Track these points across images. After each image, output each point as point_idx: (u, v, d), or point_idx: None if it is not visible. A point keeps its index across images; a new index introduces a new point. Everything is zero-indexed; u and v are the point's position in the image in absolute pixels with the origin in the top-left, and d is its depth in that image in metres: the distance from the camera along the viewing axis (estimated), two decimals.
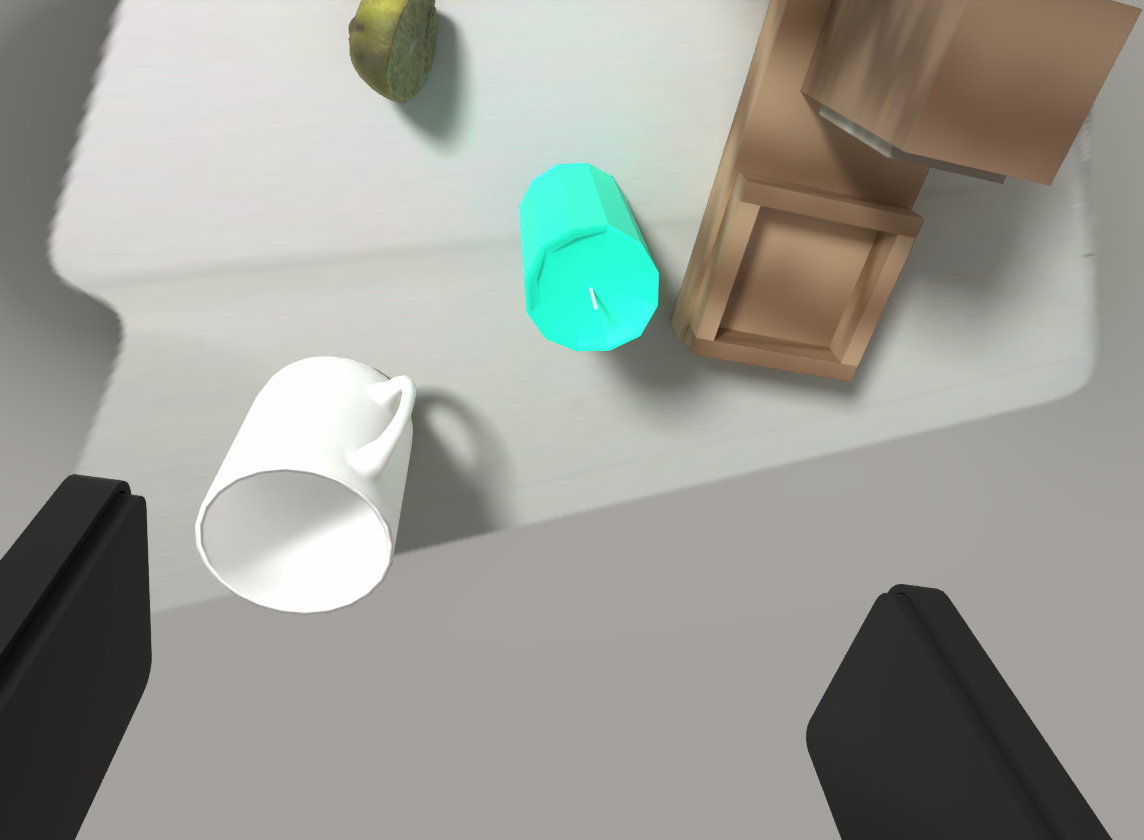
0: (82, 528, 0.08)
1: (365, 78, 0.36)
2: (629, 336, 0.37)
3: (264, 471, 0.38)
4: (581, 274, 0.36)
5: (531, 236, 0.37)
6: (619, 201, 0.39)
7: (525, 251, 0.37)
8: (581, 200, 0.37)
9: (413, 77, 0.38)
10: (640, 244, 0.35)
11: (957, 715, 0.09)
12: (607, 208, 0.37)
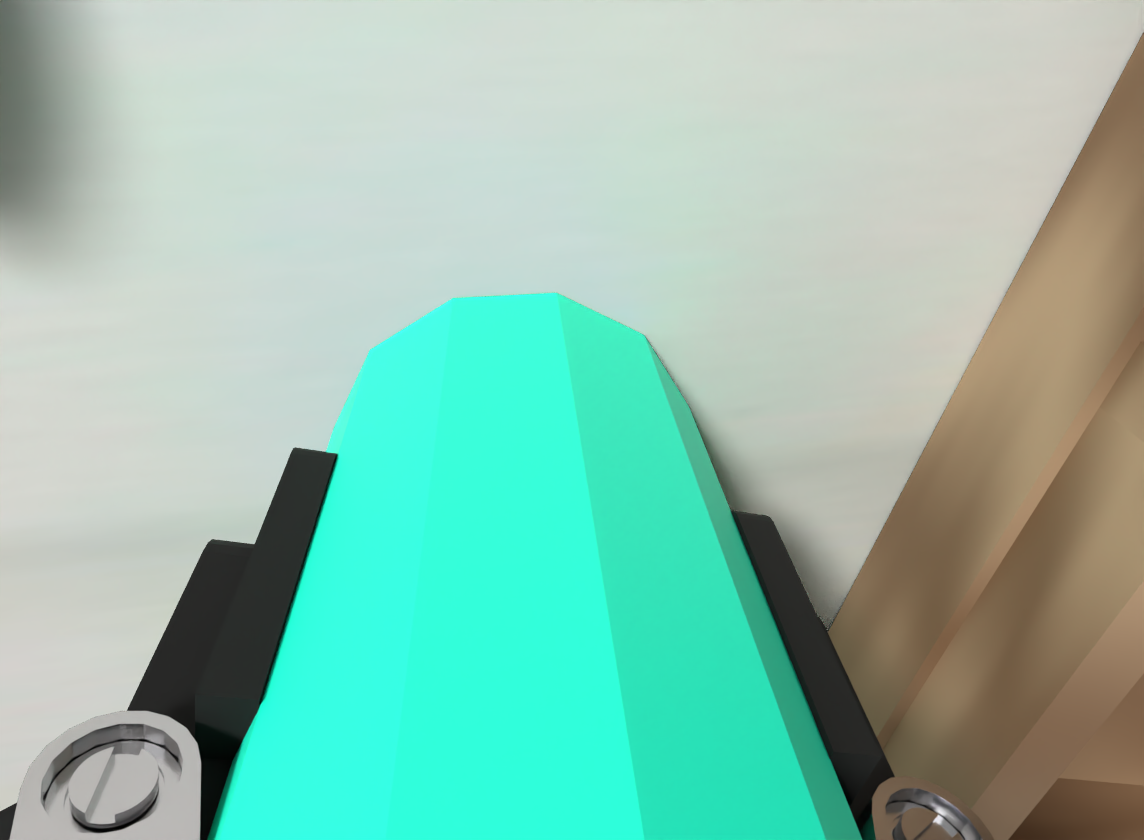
0: (318, 492, 0.09)
1: None
2: None
3: None
4: None
5: (222, 798, 0.07)
6: (693, 521, 0.09)
7: None
8: (503, 595, 0.07)
9: None
10: None
11: None
12: (652, 692, 0.06)
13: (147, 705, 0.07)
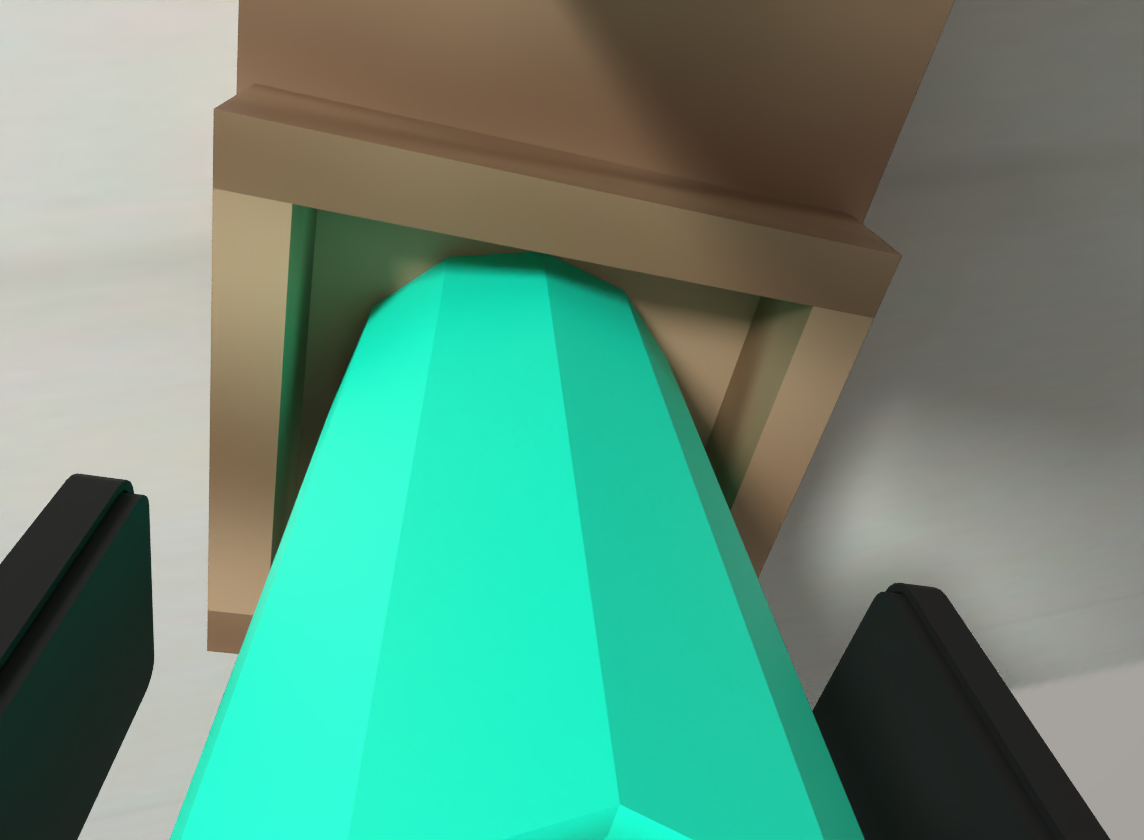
0: (85, 527, 0.08)
1: None
2: None
3: None
4: None
5: (246, 647, 0.08)
6: (658, 429, 0.10)
7: (212, 726, 0.08)
8: (486, 470, 0.08)
9: None
10: None
11: (954, 713, 0.09)
12: (610, 536, 0.07)
13: None
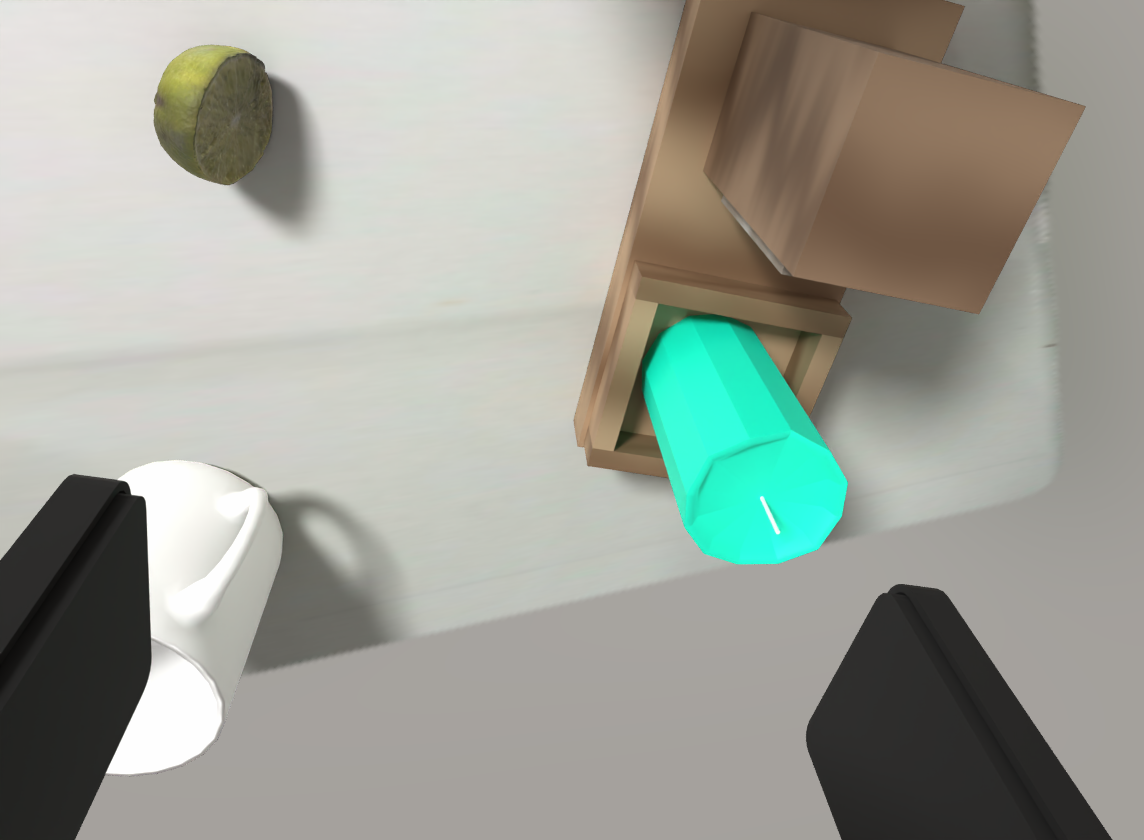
0: (82, 528, 0.08)
1: (174, 159, 0.30)
2: (804, 549, 0.30)
3: None
4: (751, 483, 0.29)
5: (681, 426, 0.31)
6: (777, 374, 0.33)
7: (675, 444, 0.31)
8: (741, 382, 0.31)
9: (243, 154, 0.32)
10: (829, 452, 0.28)
11: (957, 715, 0.09)
12: (776, 396, 0.31)
13: None
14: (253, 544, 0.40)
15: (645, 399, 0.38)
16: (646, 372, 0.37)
